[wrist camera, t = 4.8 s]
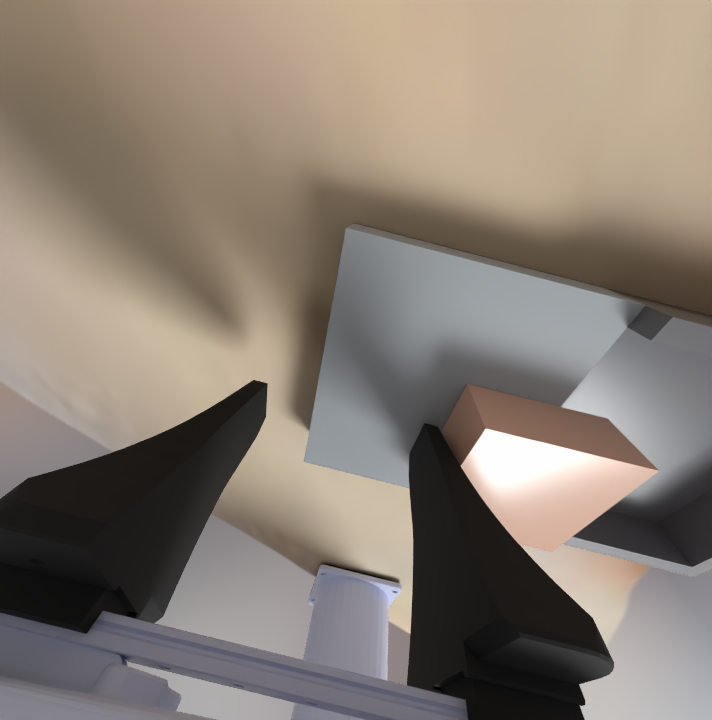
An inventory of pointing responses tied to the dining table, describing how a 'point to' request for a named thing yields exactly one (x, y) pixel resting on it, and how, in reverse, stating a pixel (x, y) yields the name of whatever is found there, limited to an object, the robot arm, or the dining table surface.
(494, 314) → the slate plate
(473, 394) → the block
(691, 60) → the dining table surface
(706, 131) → the dining table surface
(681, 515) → the box
